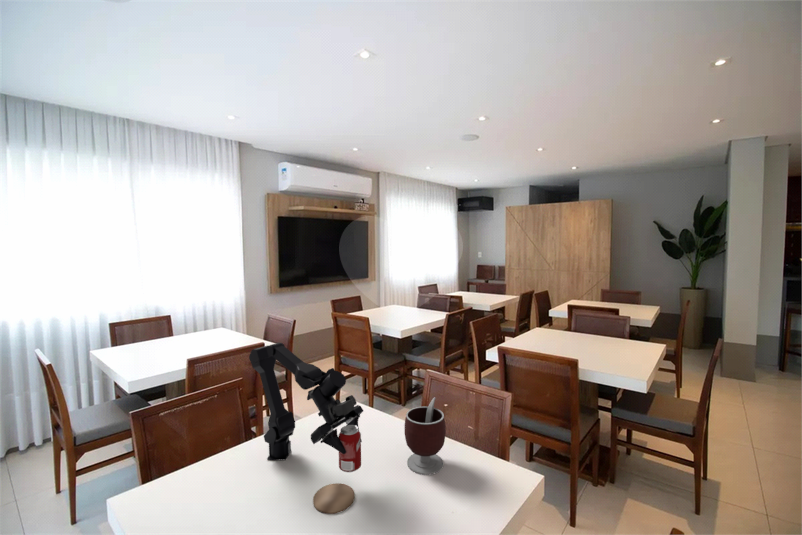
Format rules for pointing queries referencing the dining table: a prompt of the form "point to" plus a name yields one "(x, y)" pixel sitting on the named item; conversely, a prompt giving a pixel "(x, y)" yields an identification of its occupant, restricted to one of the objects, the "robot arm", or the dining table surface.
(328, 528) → the dining table surface
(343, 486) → the coaster
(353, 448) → the soda can
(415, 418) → the mate gourd
